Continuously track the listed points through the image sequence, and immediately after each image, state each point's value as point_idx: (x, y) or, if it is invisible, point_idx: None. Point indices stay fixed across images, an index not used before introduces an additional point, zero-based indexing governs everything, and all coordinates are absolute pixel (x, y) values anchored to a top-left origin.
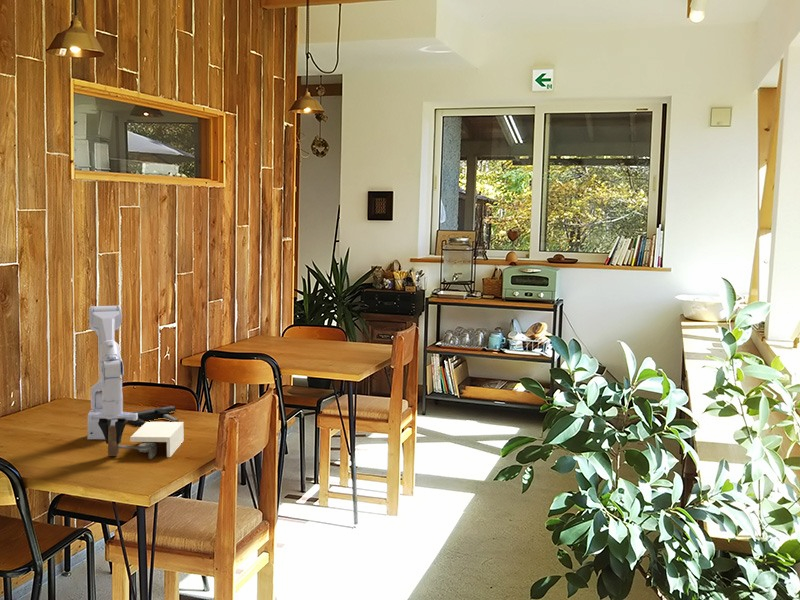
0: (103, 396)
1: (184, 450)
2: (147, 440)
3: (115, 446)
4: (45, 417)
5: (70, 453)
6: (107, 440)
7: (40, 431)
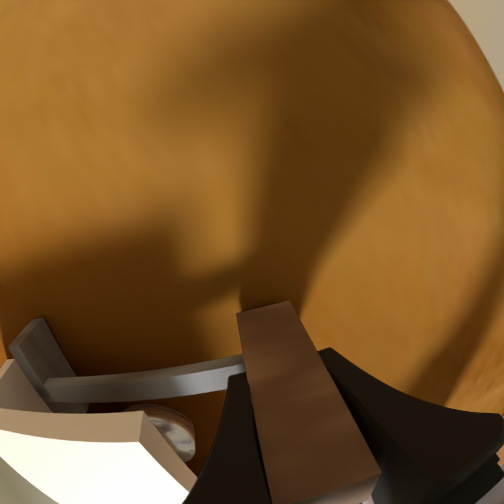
0: None
1: None
2: (42, 419)
3: (249, 352)
4: None
5: (457, 288)
6: (330, 364)
7: (496, 387)
